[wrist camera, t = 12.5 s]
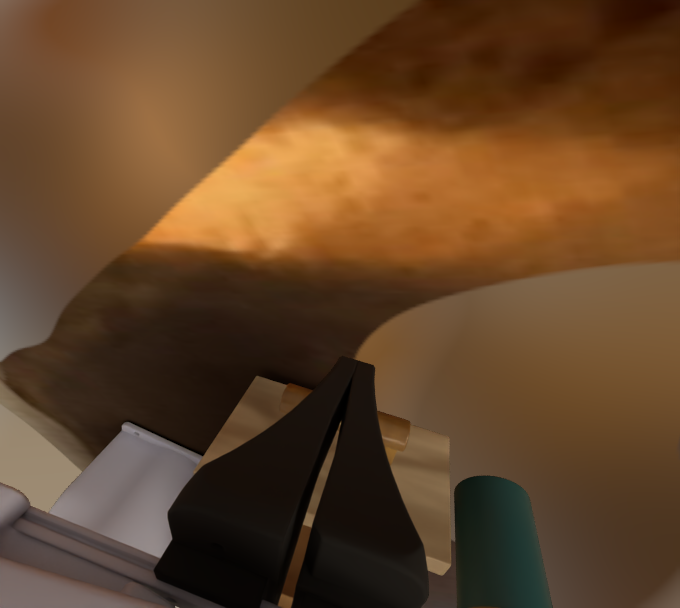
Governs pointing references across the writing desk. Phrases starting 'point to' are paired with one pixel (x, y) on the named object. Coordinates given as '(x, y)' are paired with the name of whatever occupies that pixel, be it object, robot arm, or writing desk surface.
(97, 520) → the robot arm
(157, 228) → the writing desk surface
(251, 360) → the writing desk surface
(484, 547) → the tea tin
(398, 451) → the drawer
